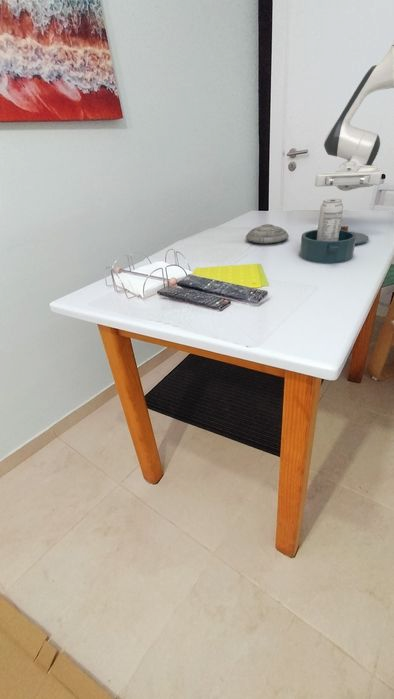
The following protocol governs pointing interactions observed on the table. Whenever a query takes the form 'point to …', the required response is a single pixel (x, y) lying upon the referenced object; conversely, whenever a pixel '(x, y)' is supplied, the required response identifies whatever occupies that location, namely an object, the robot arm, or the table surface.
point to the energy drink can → (330, 220)
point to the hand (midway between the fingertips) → (346, 181)
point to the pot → (327, 247)
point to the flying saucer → (267, 234)
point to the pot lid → (357, 235)
